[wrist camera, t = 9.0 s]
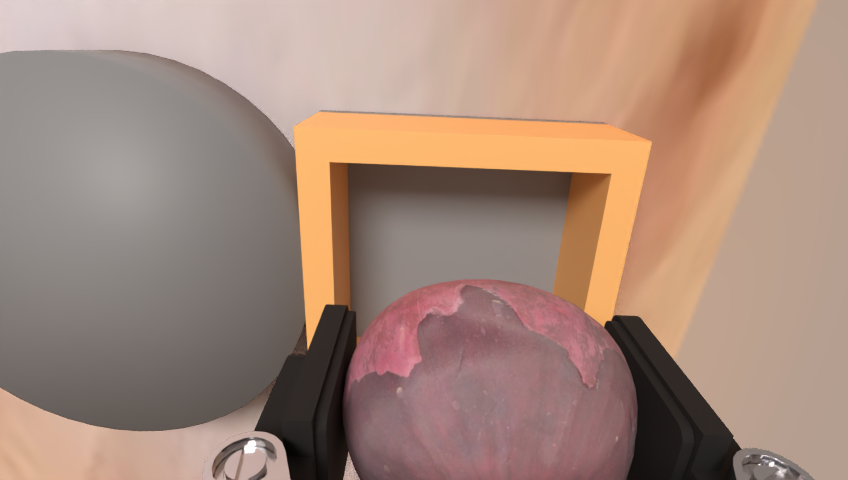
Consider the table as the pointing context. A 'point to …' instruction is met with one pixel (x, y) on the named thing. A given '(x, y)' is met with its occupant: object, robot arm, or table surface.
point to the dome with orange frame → (261, 228)
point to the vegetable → (488, 389)
